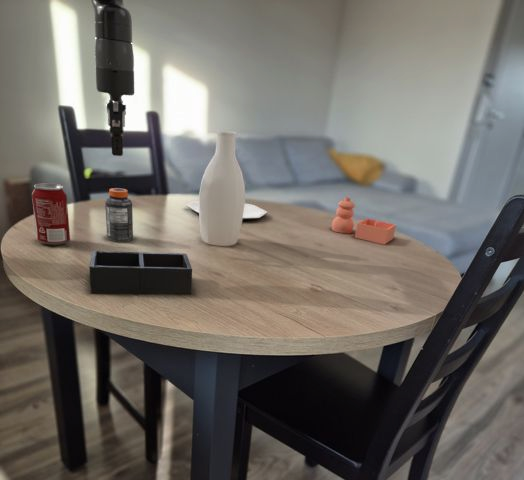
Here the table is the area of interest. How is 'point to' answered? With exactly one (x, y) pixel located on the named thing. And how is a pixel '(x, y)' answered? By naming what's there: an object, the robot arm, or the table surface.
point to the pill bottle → (119, 215)
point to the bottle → (222, 194)
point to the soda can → (51, 214)
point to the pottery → (362, 225)
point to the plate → (248, 212)
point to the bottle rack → (140, 273)
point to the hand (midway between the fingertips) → (117, 152)
